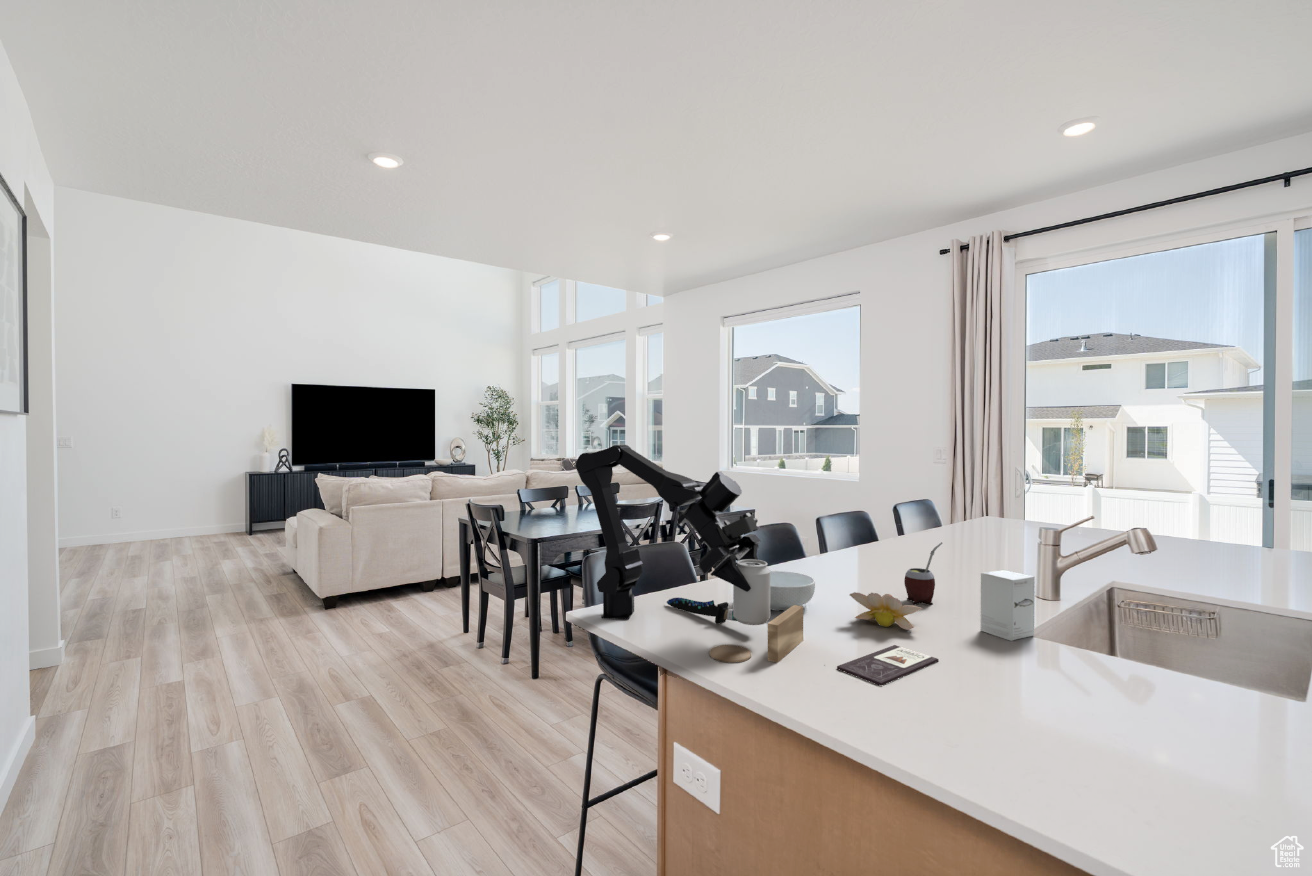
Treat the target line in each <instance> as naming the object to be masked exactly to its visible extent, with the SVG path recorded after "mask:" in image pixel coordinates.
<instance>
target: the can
mask: <svg viewBox="0 0 1312 876" xmlns="http://www.w3.org/2000/svg"><path fill="white" fill-rule="evenodd" d="M736 562H737V567H738V568H739V570H740V571H741V573H742V574H743V576H744V577H745V579H746V580H747V582H748V584H749V586H750V587H751V589H750V590H749V591H748V592H746V591H744V590H742V589H740V588H738V587H736V586H735V585H733V584H732V585H733V587H732V590H733V592H732V593H733V594H732V595H733V596H732V599H733V600H732V601H733V603H732V606H733V608H732V609H733V616H734V618H736V619H737V621H736V622H738V623H740V624H743V625H746V626H761V625H764V624H766V623H767V621H769V620H770V619H771V609H770V577H771V571H772V570H771V569H770V568H769V567H768V562H767V561H765V560H761V559H758V560H754V559H745V560H738V561H737V560H736Z"/></svg>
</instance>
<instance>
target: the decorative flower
mask: <svg viewBox="0 0 1312 876" xmlns="http://www.w3.org/2000/svg"><path fill="white" fill-rule="evenodd" d="M849 596H850V597H851V598H852V599H853V600H855V602H857V603H859V605H860V606H861V605H862V606H863V607H864V608H866V609H868V610H867V611H864V612H861V613H860V614H858V615H856V616H855V617H854V619H861V620H866V621H873V620H875V621H876V622H877V624H878V625H879V626H881V627H885V628H888V627H891V626H893V625H894V624H897V625H898V626H899V627H900V628H901V629H903V630H907V631H909V630H912V629H914V628H915V627H914V625H913V624H912V623H911V622H910V621H909V620H908V619H907V617H906V616H908V615H911V614H914V613H916V612H919V611H921V610H923V609H924V608H923V607H920V606H917V605H913V604H912V605H911V604H910V605H907V604H906V605H903V604H902V602H901V600H900V599H899V598H897V597H894V596H893V595H891V594H890V593H886V594H883V595H881V594H879V593H877V592H870V593H868V594H867V595H866V594H863V593H861V592H855V591H854V592H852V593H850V594H849Z"/></svg>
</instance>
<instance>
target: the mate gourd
mask: <svg viewBox="0 0 1312 876" xmlns="http://www.w3.org/2000/svg"><path fill="white" fill-rule="evenodd" d="M941 545H943V542H940V543H938V544H937V545H936V546H935V547H934V548H933V549H932V550H930V553H929V558H928V562H927V564H926V567H925V568H922V567H921V568H920V567H919V568H918V567H914V568H912V567H911V568H909V569H908V570H907V571H906V572H905V576H904V587H905V588H904V589H905V590H906V595H907V597H906V600H907V601H909V602H912V605H914V606H917V605H919V603H920V604H922V605H923V604H924V605H927V606H928V605H930V606H932V605H933V603H934V602H933V598H934V594H935V587H936V581H935V580H936V579H935V575H934V573H933V572H932V571H931V570H929V568H930V565H931V562H932V559H933V556H934V555H935V551H936V550H937V549H938V548H939V547H940V546H941ZM913 601H914V602H913Z"/></svg>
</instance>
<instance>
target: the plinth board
mask: <svg viewBox="0 0 1312 876" xmlns="http://www.w3.org/2000/svg"><path fill="white" fill-rule="evenodd" d="M803 641H804V605H800V606H797V605H793V606H792V607H790V608H789V609H787V610H786V611H783V612H782V613H781V614H779V615H778V616H776V617H774V618H773V619H772V620H771V621H769V622H767V661H768V662H773V663H777V664H778V663H779V662H781V661H782V660H783V659H784V658H785V657H786V656H788V654H789V653H791V652H792V651H793V650H795V649H796V648H797V647H798V646H799V645H800V644H801V643H802V642H803ZM800 642H801V643H800ZM798 644H799V645H798ZM797 645H798V646H797Z"/></svg>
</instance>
